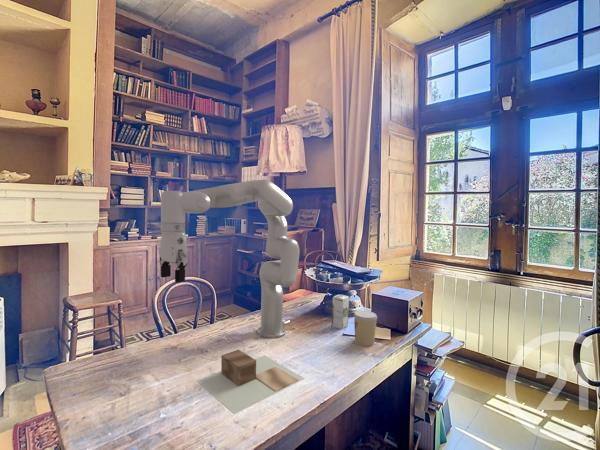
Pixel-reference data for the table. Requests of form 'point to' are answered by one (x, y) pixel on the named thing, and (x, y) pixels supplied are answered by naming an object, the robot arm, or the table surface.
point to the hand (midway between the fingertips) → (172, 279)
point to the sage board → (243, 387)
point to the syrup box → (340, 311)
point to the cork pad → (276, 378)
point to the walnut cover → (238, 367)
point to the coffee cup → (365, 327)
